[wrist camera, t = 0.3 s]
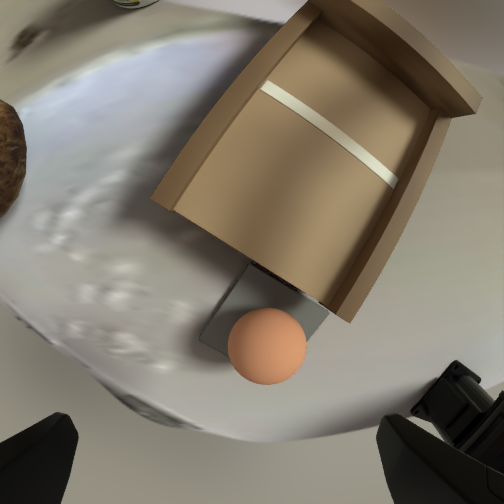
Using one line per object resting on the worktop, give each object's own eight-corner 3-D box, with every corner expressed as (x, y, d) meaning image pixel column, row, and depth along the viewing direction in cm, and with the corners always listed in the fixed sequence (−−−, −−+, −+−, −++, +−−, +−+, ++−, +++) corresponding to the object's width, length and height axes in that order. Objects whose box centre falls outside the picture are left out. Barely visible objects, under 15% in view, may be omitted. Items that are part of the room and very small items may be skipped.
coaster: (327, 310, 19) (329, 313, 19) (274, 376, 20) (274, 379, 20) (249, 262, 18) (250, 264, 18) (198, 337, 19) (198, 340, 19)
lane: (438, 108, 16) (483, 97, 12) (320, 294, 19) (344, 330, 14) (310, 7, 14) (330, -33, 10) (169, 198, 17) (145, 207, 12)
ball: (312, 317, 19) (331, 354, 14) (272, 366, 19) (280, 410, 15) (254, 282, 18) (259, 315, 14) (215, 337, 19) (210, 379, 14)
